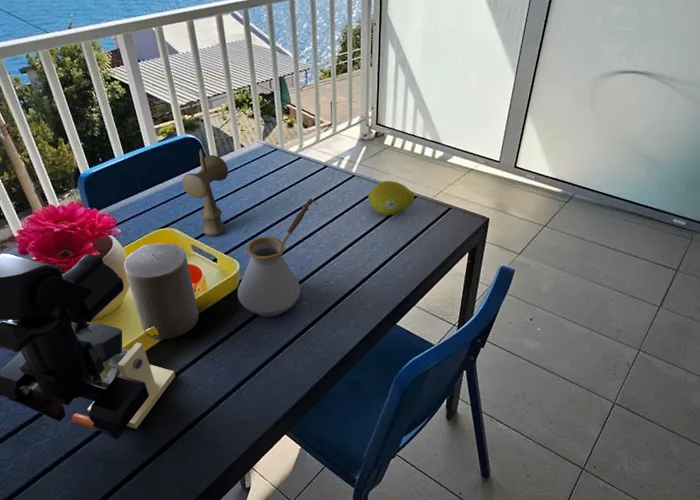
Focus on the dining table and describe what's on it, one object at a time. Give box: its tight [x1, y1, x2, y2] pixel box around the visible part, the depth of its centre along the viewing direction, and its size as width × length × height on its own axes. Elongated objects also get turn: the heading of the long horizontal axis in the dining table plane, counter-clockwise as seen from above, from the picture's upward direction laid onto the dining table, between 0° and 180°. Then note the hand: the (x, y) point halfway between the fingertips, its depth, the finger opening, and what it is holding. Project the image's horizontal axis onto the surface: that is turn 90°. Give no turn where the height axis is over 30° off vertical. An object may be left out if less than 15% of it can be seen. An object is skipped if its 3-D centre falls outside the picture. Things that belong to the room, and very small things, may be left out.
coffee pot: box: [237, 198, 318, 317], centre depth 93 cm, size 21×12×15 cm, turn 151°
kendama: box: [182, 148, 229, 237], centre depth 106 cm, size 6×10×20 cm, turn 164°
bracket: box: [87, 341, 176, 430], centre depth 73 cm, size 10×8×10 cm
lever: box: [71, 347, 131, 432], centre depth 70 cm, size 11×6×2 cm, turn 162°
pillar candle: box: [123, 242, 199, 340], centre depth 85 cm, size 10×10×15 cm
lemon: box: [367, 180, 415, 216], centre depth 118 cm, size 11×8×8 cm
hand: (89, 427), depth 68 cm, fingers open, 9 cm apart
